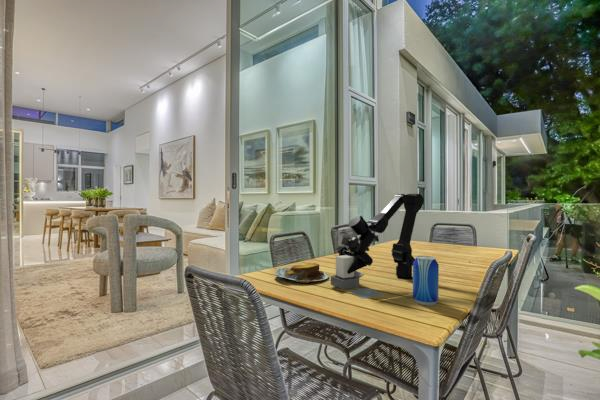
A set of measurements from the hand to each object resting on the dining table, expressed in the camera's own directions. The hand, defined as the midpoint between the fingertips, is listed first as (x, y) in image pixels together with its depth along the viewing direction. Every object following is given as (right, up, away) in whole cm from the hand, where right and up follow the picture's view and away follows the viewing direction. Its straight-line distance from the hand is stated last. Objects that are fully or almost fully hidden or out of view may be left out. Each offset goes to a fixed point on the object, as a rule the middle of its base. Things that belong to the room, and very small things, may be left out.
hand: (342, 270), depth 130 cm
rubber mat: (+8, -7, -9) cm, 14 cm away
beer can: (+27, -7, -18) cm, 33 cm away
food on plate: (-17, -7, +14) cm, 23 cm away
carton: (+1, -7, +1) cm, 7 cm away
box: (+1, -6, +1) cm, 6 cm away
